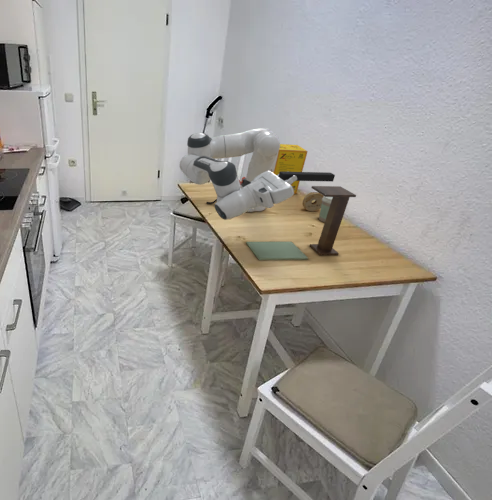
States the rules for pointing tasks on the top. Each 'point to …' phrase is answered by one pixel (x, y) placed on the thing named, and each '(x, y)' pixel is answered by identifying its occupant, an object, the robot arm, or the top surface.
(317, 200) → the stone disc
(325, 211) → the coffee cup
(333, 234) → the shelf stand
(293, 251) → the base pad
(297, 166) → the packaging box
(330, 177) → the black bar
